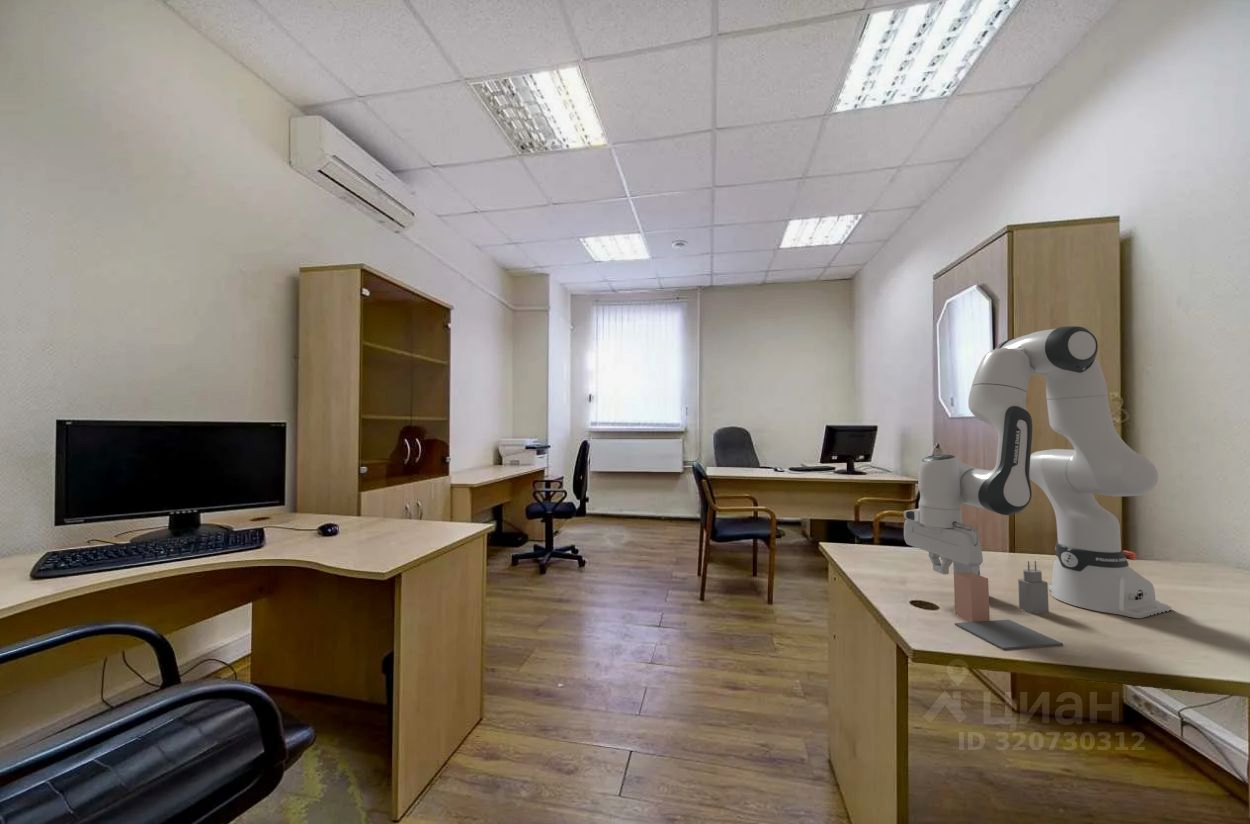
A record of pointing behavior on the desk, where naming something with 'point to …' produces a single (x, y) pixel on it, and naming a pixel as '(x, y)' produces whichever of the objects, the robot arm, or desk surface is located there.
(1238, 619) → the desk surface
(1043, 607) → the power adapter
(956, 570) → the skincare box
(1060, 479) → the robot arm
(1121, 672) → the desk surface
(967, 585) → the block
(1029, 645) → the mat
